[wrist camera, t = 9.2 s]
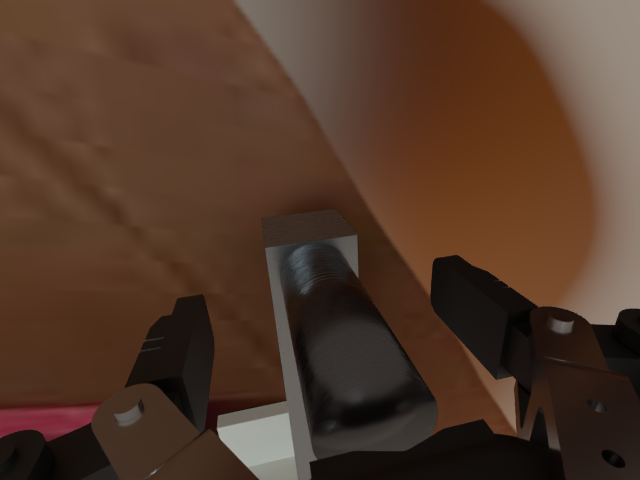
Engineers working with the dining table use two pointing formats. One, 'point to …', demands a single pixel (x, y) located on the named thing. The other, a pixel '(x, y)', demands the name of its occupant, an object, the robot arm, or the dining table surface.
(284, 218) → the shaft
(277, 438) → the bracket
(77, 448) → the robot arm
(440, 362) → the dining table surface
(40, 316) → the dining table surface
